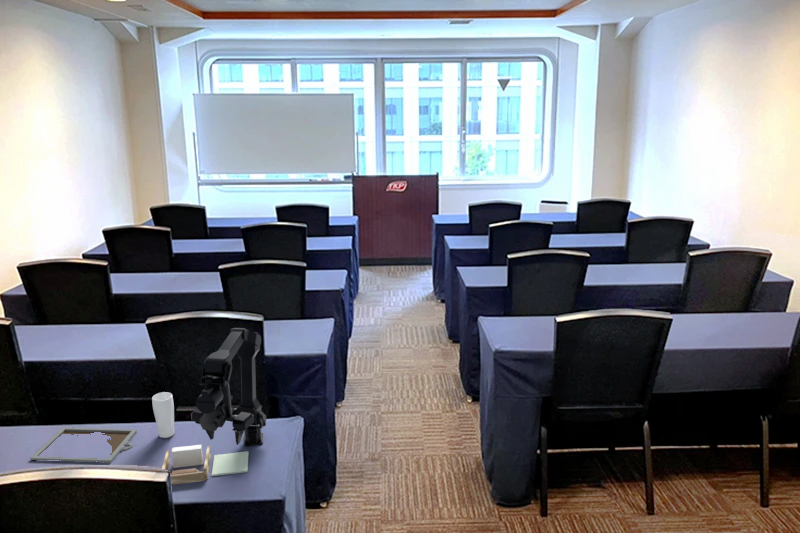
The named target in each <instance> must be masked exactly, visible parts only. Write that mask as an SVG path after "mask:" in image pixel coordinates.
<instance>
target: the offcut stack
mask: <svg viewBox="0 0 800 533" xmlns="http://www.w3.org/2000/svg"><path fill="white" fill-rule="evenodd" d="M192 472H200V470H199V469H197V468H196V467H194V468H187V469H186V468H185V469H177V470H172V472H171V475H175V474H183V473H192Z"/></svg>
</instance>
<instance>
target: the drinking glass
mask: <svg viewBox="0 0 800 533" xmlns="http://www.w3.org/2000/svg"><path fill="white" fill-rule="evenodd" d="M151 401H152V410H153V414H154V418H155V423H156V427H157V432H158V437H160V438H162V439H167V438H171V437H172V436H174V435H175V432H176V431H175V406H174V398H173V394H172V393H171V392H167V391H166V392H165V391H162V392H158V393H156V394H154V395H153V396H152V398H151Z"/></svg>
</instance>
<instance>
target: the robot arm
mask: <svg viewBox="0 0 800 533" xmlns="http://www.w3.org/2000/svg"><path fill="white" fill-rule="evenodd" d="M261 344H262V336H261V335H260V334H259V333H258V332H257V331H256V332H255V331H251V330H249V329H246V328H245V327H243V328H242V327H233V328H231V329H230V331H229V335H228V336H227V338H226V339H225V340H224V341H223V343H222V344H221V346H220V347H219V348H218V350H217V351H215V352H212V353H210V354H209V355H208V356H207V357H206V358H205V359H204V361H203V363H202V368H201V373H200V380H199V385H200V386H204V389H203V390H202V391H201V394H199V396H198V397H197V399H196V401H195V406H196V408H195V409H193V411H192V412H191V414H190V416H191V417H190V418H191V422H195V424H198V425H200V426H201V428H202V431H203V430H204V431H205V432H206V434H207V435H208V438H209V439H210V440H211V441H212V440H213V439H214V438H215V432H216V431H217V430H218V428H223V426H224V425H225V423H226V422H230V423H231V424H232V427H233V429H232V431H233V432H234V434H235V444H236V445H237V446H238V445H240V443H241V441H242V437H243V446H244V447H247V446H256V445H263V444H264V433H263V432H262V429H263V428H264V427H266V425H267V415H266V414H265V413H264V412H263V411H262V405H261V403H260V402H259V400H258V399H257V389H256V388H257V387H256V386H257V385H256V383H257V381H256V356H257V354H258V352H259V351H260V349H261ZM236 355H237V356H238V358H239V359H240V380H241V381H240V385H241V388H240V390H241V392H240V393H241V401H240V403H239V404H238V405H237V407H236V412H235V407H232V400H233V399H234V395H231V391H230V390H231V389H230V379H231V375H232V371H233V364H232V360H233V359H234V357H235V356H236ZM211 377H212V378H211ZM234 412H235V414H233V413H234Z"/></svg>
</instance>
